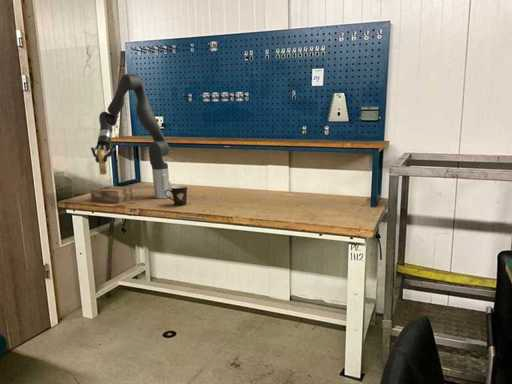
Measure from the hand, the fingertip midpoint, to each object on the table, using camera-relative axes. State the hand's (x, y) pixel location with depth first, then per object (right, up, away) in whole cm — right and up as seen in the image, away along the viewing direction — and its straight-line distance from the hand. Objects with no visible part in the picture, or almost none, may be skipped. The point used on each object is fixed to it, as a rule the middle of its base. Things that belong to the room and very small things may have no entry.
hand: (100, 161), depth 238 cm
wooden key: (0, -7, +3) cm, 8 cm away
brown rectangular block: (+5, -22, +5) cm, 24 cm away
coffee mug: (+47, -25, -12) cm, 54 cm away
